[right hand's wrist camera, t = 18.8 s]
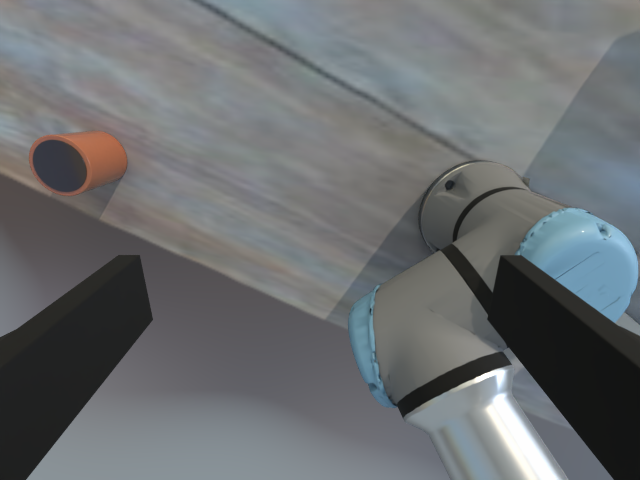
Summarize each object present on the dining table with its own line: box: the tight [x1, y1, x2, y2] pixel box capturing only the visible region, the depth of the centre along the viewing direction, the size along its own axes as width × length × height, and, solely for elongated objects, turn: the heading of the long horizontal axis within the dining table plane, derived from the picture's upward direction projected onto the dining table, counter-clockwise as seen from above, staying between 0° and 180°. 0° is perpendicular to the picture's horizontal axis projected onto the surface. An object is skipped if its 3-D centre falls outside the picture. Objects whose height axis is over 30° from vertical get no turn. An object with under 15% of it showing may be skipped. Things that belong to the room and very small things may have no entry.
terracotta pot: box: [29, 131, 127, 196], centre depth 43 cm, size 7×7×8 cm
